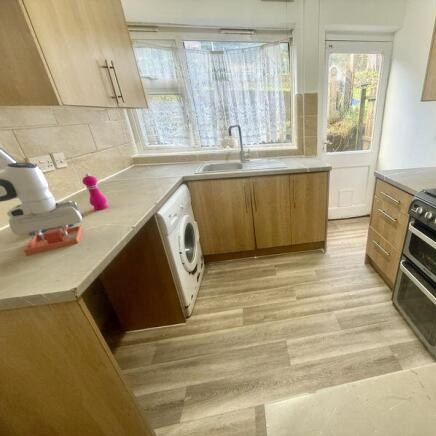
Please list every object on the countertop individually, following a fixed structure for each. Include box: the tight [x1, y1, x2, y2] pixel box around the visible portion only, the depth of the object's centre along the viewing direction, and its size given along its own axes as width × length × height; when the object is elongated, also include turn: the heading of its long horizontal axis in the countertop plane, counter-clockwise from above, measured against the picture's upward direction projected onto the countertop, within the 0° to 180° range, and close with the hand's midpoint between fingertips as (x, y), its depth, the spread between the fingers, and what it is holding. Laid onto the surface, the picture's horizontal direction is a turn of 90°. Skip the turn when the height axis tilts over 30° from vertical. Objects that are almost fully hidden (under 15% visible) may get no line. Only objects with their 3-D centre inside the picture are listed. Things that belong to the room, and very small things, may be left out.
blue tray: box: [28, 224, 75, 236], centre depth 115 cm, size 15×15×2 cm
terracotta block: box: [44, 228, 66, 244], centre depth 99 cm, size 4×4×4 cm
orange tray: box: [23, 225, 83, 257], centre depth 99 cm, size 15×15×2 cm
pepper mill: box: [82, 172, 109, 211], centre depth 130 cm, size 7×7×20 cm
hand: (55, 237), depth 99 cm, fingers closed on terracotta block, 4 cm apart
